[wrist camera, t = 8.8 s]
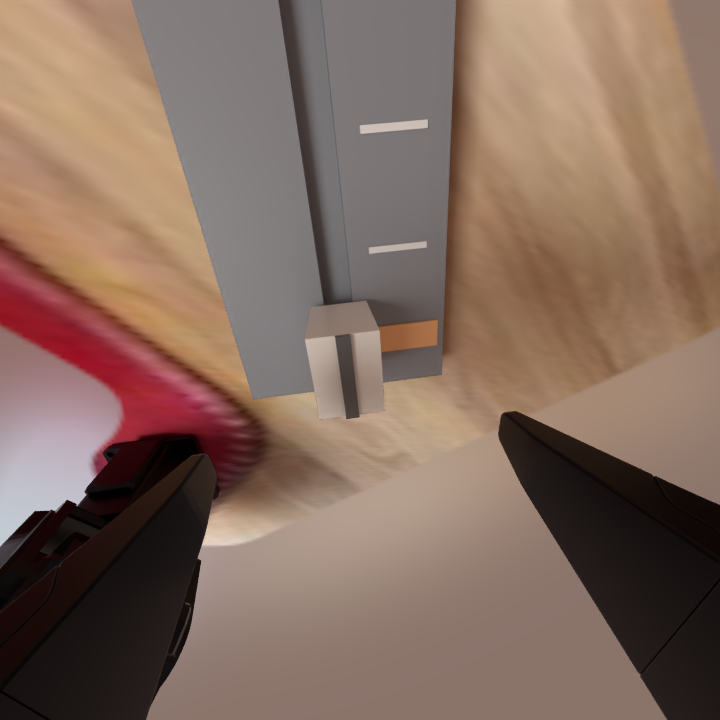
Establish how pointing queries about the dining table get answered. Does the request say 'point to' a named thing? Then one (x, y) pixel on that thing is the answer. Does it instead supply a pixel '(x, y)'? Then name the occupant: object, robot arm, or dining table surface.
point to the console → (314, 166)
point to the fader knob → (345, 360)
